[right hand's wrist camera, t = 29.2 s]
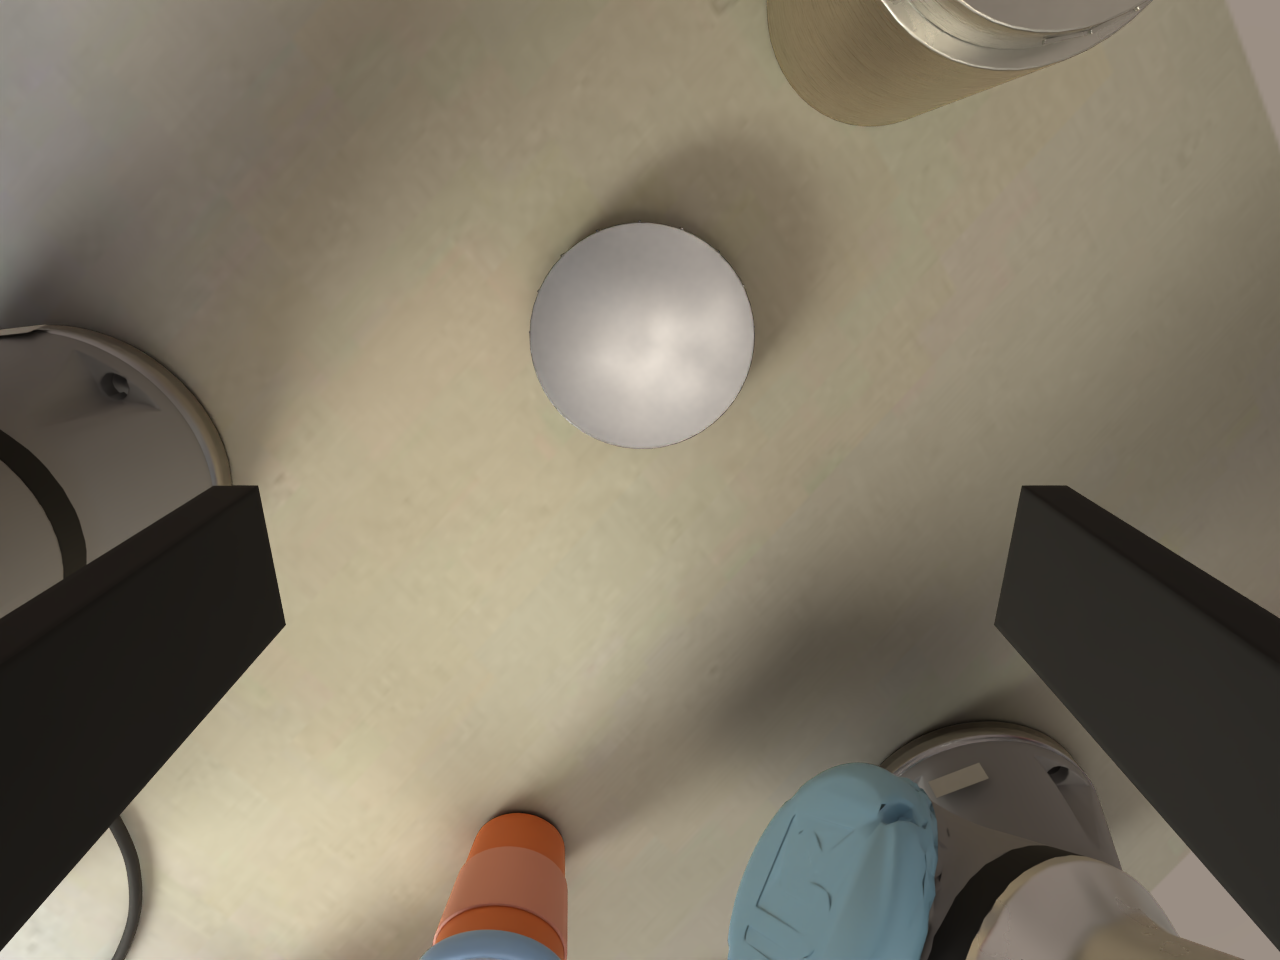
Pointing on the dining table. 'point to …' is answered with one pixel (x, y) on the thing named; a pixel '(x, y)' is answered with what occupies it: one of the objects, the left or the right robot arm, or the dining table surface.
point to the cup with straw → (507, 896)
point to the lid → (642, 335)
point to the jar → (926, 48)
